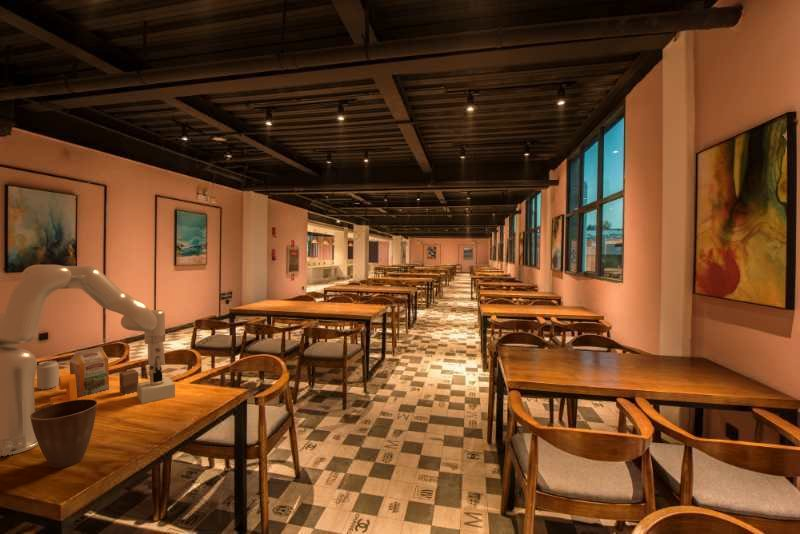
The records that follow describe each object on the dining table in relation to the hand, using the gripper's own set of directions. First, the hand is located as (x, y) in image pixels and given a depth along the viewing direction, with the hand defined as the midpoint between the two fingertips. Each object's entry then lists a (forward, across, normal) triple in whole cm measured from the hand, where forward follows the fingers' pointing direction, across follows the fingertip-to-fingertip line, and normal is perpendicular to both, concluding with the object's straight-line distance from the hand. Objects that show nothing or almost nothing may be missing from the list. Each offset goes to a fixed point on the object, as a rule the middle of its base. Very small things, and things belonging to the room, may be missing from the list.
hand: (155, 378), depth 166 cm
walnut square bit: (+8, +14, +8) cm, 18 cm away
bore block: (+8, 0, 0) cm, 8 cm away
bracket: (+8, +14, +30) cm, 34 cm away
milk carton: (+8, +27, +21) cm, 35 cm away
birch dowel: (+8, 0, 0) cm, 8 cm away
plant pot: (+8, -44, +30) cm, 54 cm away
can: (+8, +46, +35) cm, 58 cm away
